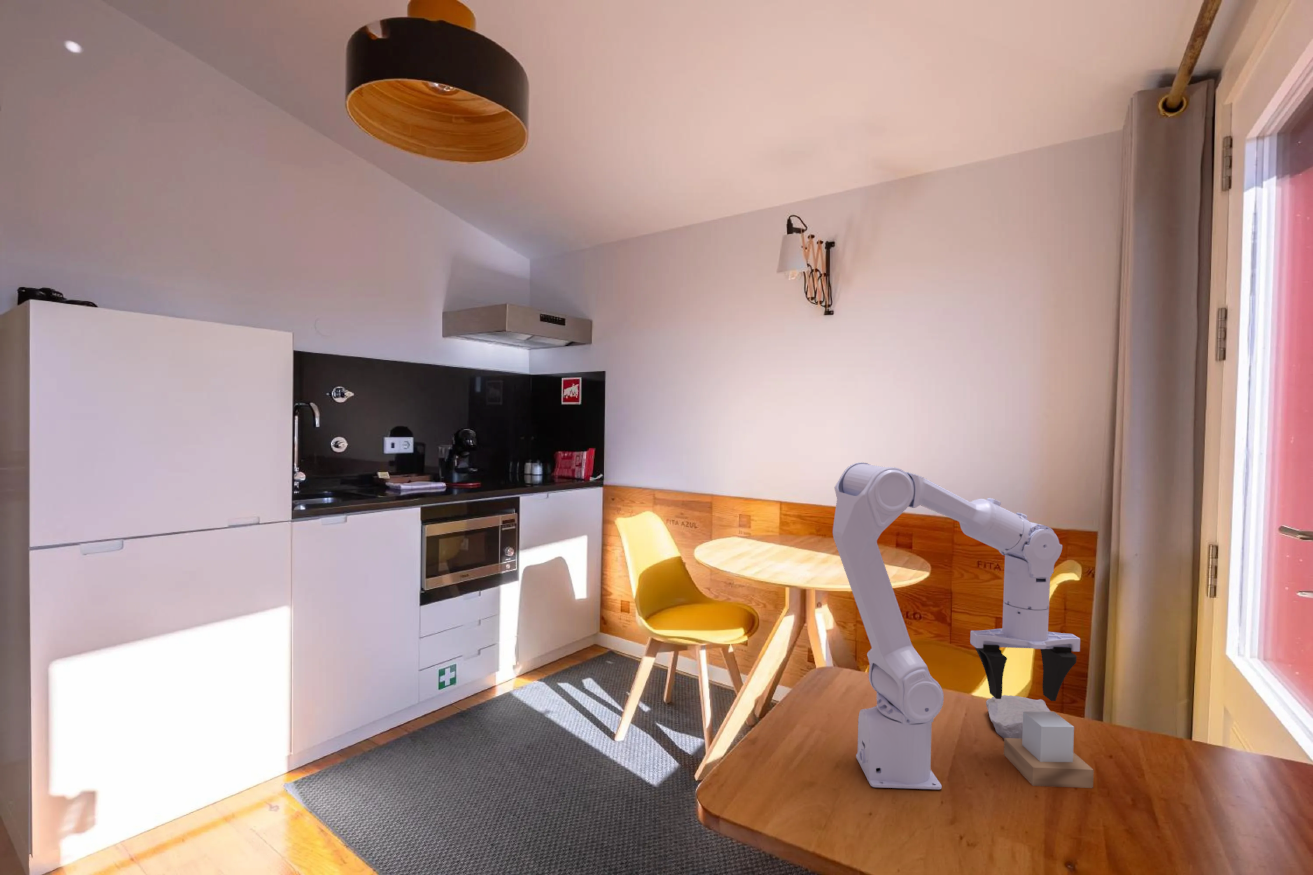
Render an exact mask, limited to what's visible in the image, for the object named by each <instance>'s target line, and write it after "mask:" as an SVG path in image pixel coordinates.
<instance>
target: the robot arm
mask: <svg viewBox="0 0 1313 875" xmlns="http://www.w3.org/2000/svg"><path fill="white" fill-rule="evenodd" d="M834 492H835V496H836V504H835V511H834V517H833V518H834V519H833V525H832V536H833V537H832V538H833V541H834V543H835V546H836V550H837V551H838V555H839V558H840V561H841V563H842V566H843V569H844V572H845V575H846V579H847V581H848V583H849V586H850V590H851V592H852V595H853V597H854V598H853V599H854V601H855V604H856V607H857V609H858V612H859V615H860V618H861V621H862V624H863V626H864V630H865V632H866V633H865V634H866V635H867V638H868V640H869V644H870V647H871V648H870V650H868V652H867V653H866V655H867V659H868V663H869V669H868V681H869V683H870V685H871V687H872V689H873V690H874V691H875V692H876V705H875V706H872V707H868V708H862V709H860V710H859V714H858V717H857V718H858V719H857V720H858V721H857V722H858V723H857V753H856V754H855V758H856V760H857V762H858V763H859V765H860V767H861V769H862V771H863V773H864V775H865V777H866V779H867V782H868V783H869V785H870V787H872V788H886V789H887V788H888V789H889V788H890V789H891V788H892V789H917V790H918V789H919V790H941V789H942V784H941V782H940V780H938V778H937V776H936V775H935V774H934V772H933V771H932V769H931V768H932V767H931V764H932V763H931V762H932V758H931V757H932V725H933V724H932V723H934V720H935V718H936V717H937V716H938V714H940V712H941V711H942V708H943V705H944V702H945V700H944V699H945V698H944V696H945V695H944V690H943V688H942V686H941V685H940V684H939V682H938V681H937V680H936V679H935V678H933V676H932V675H931V674H930V671H929V668H928V665H927V664H926V663H925V661H924V659H923V658H922V657H921V656H920V654H919V653H918V652H917V650H916V648H914V645H913V643H912V642H911V638H910V636H909V635H910V634H909V632H908V630H907V626H906V623H905V620H904V618H903V614H902V612H901V609H900V606H899V603H898V600H897V597H896V594H895V591H894V589H893V586H892V583H891V579H890V577H889V574H888V570H887V568H886V565H885V562H884V560H883V556H882V553H881V550H880V547H879V545H878V539H879V538H880V536H881V534H882V533H883V532H884V531H885V530H886V529H887V528H888V527H889V526H890V525H891V524H892V523H893V522H894V521H896V520H897V519H898V517H899V516H901V515H902V514H903V513H904V512H905V511H906V510H907V509H908V508H911V509H915V508H918V507H920V506H922V507H924V508H926V509H928V510H931V511H933V512H935V513H938V514H940V515H942V516H945V517H948V518H949V519H952V520H953V521H957V522H958V523H959V525H960V529H961V531H962V533H963V534H964V535H966V536H967V537H970V538H972V539H974V540H976V541H978V542H981V543H983V544H985V545H986V546H989V547H991V548H994V549H996V550H997V551H998V552H999V553H1000V554H1001V555H1002V556H1004V569H1003V570H1004V572H1003V573H1004V574H1003V598H1002V600H1003V601H1002V628H993V629H984V630H970V634H969V635H970V637H969V640H970V641H969V642H970V645H972V646H973V647H974V649H975V651H976V653H977V655H978V657H979V659H980V661H981V664H982V667H983V670H984V672H985V676H986V679H987V684H988V689H989V694H990V695H991V696H992V697H995V698H996V699H1001V697H1002V696H1003V678H1004V677H1003V676H1004V671H1005V666H1006V663H1007V660H1008V657H1007V656H1006V655H1005V654H1003V653H1002V650H1001V649H1000V648H1007V649H1008V648H1009V649H1010V648H1013V649H1035V650H1040V653H1041V661H1042V662H1041V663H1042V694H1043V696H1044V697H1045V698H1047V700H1049V701H1051V702H1056V700H1057V699H1058V698H1057V697H1058V694H1059V692H1060V689H1061V687H1062V684H1063V683H1064V680H1065V678H1066V676H1067V675H1068V674H1069V672H1070V671H1071V670H1072V668H1073V667H1074V666H1075V665H1076V663H1077V659H1078V658H1077V657H1078V656H1077V655H1076V654H1075V653H1074V652H1081V638H1080V637H1078V636H1076V635H1075V634H1073V633H1065V632H1063V633H1061V632H1056V631H1049V618H1050V617H1049V616H1050V615H1049V614H1050V594H1051V592H1050V591H1051V586H1050V585H1051V577H1052V574H1054V571H1055V570H1054V569H1055V564H1056V562H1057V561H1058V559H1059V558H1060V556H1061V553H1062V550H1063V544H1061V543H1060V539H1059V537H1058V536H1057V534H1056V533H1055V530H1053V528H1052V527H1050V526H1047V525H1045V524H1040V523H1036V522H1031V521H1030V520H1028V515H1027V514H1024V513H1022V512H1018V511H1017V512H1016V513H1015V512H1013V511H1011V510H1008V509H1007V508H1004V507H1003V506H1001V505H1002V501H1000V500H998V499H995V498H992V497H987V498H986V499H985V498H976V499H973V500H971V501H970V500H967V499H966V498H964V497H962V496H960V495H958V494H956V493H954V492H953V491H950V490H948V489H946V488H944V487H942V486H940V485H939V484H937V483H935V482H933V481H931V480H929V479H927V478H925V477H924V476H921V475H919V474H916V473H913V472H909V471H908V472H907V471H904V470H903V469H901V468H899V467H895V466H894V467H893V466H882V465H881V466H880V465H875V464H870V463H868V462H863V461H862V462H854V463H852V464H850V465H849V466H847V467H846V469H845V470H844V471H843V472H842V474H841V475H840V477H839V479H838V480H837V482H836V484H835V485H834Z"/></svg>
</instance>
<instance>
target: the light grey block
mask: <svg viewBox="0 0 1313 875" xmlns="http://www.w3.org/2000/svg"><path fill="white" fill-rule="evenodd" d="M1074 739H1075V726H1074V725H1072V724H1071V723H1070V722H1068V721H1067V720H1066V719H1064V718H1063V717H1061V715H1059V714H1058V713H1057V712H1055V711H1051V712H1033V711H1023V733H1022V745H1023V746H1024V747H1025V748H1026V749H1027V750H1028V751H1029V752H1030V753H1031V754H1032V755H1034V756H1035V757H1036V758H1037V759H1038V760H1039V761H1040V762H1073V752H1074V741H1075V740H1074Z"/></svg>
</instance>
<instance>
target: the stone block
mask: <svg viewBox="0 0 1313 875" xmlns="http://www.w3.org/2000/svg"><path fill="white" fill-rule="evenodd" d="M985 706H986V709H987V712H988V715H989V716H988V717H989V719H990V721H991V722H992V724H993V728H995V733H996V734H997V735H998V736H1000V737H1001V738H1003V739H1004V738H1019V739H1022V733H1023V711H1033V712H1052V711H1051V710H1050V709H1049V707H1048V706H1047V705H1046V701H1045V700H1043V699H1041V698H1040V699H1032V698H1028V697H1025V696H1024V697H1023V696H1018V695H1006V694H1004V695H1003V694H1002V697H1001V699H996V698H995V697H993V696H992V697H991V698H987V700H986V701H985Z"/></svg>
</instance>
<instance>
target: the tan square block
mask: <svg viewBox="0 0 1313 875" xmlns="http://www.w3.org/2000/svg"><path fill="white" fill-rule="evenodd" d="M1003 741H1004V742H1003V755H1004V757H1005V758H1007V760H1008V761H1009V762H1010V763H1011V764H1012V765H1013V766H1014V767H1015V769H1017V771H1018V772H1020V774H1021V775H1022V776H1023V777H1024V778H1025V780H1027V781H1028V782H1029V783H1030V784H1031V786H1032V787H1034V786H1035V787H1057V788H1082V789H1083V788H1084V789H1085V788H1086V789H1093V788H1094V773H1095V772H1094V769H1093V768H1092V767H1091V765H1089V764H1088V763H1087V762H1085V761H1084V760H1083V759H1082V758H1081V757H1080V756H1079V755H1077V754H1076V753H1075V752H1074V751H1073V762H1040V761H1039V760H1038V759H1037V758H1036V757H1035V756H1034V755H1032V754H1031V753H1030V752H1029V751H1028V750H1027V749H1026V748H1025V747H1024V746H1023V745H1022V739H1019V738H1003Z"/></svg>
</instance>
